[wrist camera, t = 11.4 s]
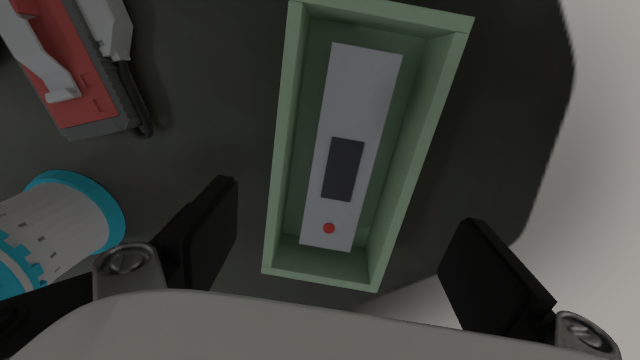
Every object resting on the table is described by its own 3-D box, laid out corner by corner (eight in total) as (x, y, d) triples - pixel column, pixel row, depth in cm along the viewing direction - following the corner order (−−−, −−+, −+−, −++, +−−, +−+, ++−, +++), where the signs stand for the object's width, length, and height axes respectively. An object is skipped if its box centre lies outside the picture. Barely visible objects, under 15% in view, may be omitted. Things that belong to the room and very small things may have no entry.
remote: (332, 45, 19) (332, 41, 16) (393, 56, 19) (404, 54, 16) (302, 223, 26) (298, 245, 23) (348, 231, 26) (350, 254, 23)
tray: (302, 3, 19) (290, -19, 14) (439, 29, 19) (475, 17, 14) (274, 234, 27) (260, 273, 22) (369, 251, 27) (377, 293, 22)
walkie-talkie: (183, 129, 23) (44, -199, 15) (150, 142, 19) (-59, -293, 11) (98, 147, 24) (-70, -148, 17) (50, 163, 20) (-199, -217, 13)
